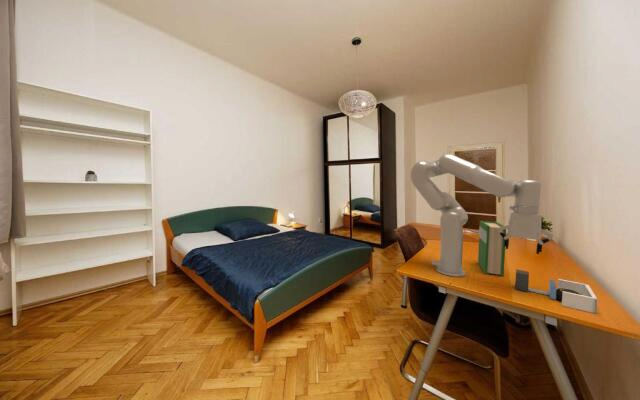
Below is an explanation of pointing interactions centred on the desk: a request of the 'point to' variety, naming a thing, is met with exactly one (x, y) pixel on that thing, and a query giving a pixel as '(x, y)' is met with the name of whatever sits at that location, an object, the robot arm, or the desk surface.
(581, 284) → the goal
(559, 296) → the tape measure
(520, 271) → the block dumbbell
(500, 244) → the hardback book
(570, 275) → the desk surface
